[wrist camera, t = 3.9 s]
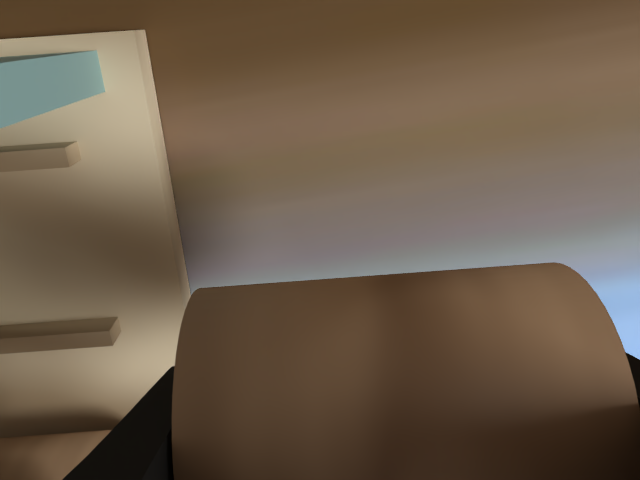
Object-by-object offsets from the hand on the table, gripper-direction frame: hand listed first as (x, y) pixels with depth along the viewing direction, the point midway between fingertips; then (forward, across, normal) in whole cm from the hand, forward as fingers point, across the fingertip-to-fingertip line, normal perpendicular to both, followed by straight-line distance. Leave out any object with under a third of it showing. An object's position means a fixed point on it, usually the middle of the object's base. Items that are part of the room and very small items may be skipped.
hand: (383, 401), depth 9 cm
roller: (+2, 0, 0) cm, 2 cm away
